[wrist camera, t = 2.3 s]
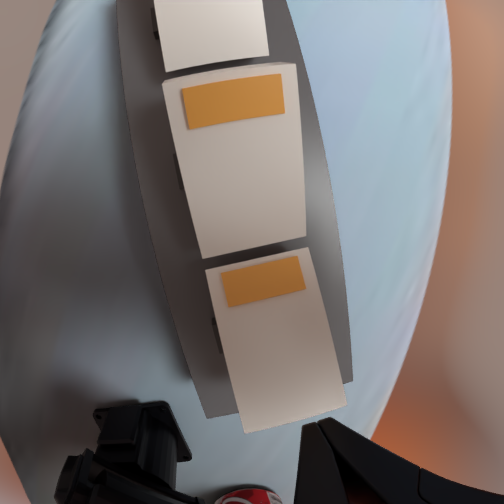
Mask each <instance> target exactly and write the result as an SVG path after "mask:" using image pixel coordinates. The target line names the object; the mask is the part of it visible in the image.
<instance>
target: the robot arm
mask: <svg viewBox="0 0 504 504" xmlns="http://www.w3.org/2000/svg"><path fill="white" fill-rule="evenodd" d="M161 408H165V409H166V410H163V409H161ZM97 414H98V415H97ZM99 415H100V416H99ZM93 417H94V419H95V421H96V423H97V425H98V426H99V428H100V430H101V432H100V435H99V437H98V440H97V444H98V447H97V450H96V452H95V454H94V452H93V451H91V450H89V449H88V448H86V449H85V451H84V453H83V454H82V455H81V454H80V455H78V456H68V458H67V459H66V462H65V464H64V466H63V469H62V471H61V474H60V476H59V479H58V483H57V486H56V490H55V494H54V499H55V501H56V503H57V504H205V502H204V500H203V499H201V498H198V497H195V498H194V497H191V496H188V495H186V494H183V493H180V492H177V491H175V488H176V469H177V462H186V461H190V460H191V459H192V453H191V451H190V449H189V447H188V445H187V443H186V441H185V439H184V437H183V435H182V432H181V430H180V428H179V426H178V424H177V421H176V419H175V417H174V415H173V412H172V410H171V408H170V406H169V404H167V403H165V402H160V403H152V404H144V405H131V406H122V407H111V408H106V409H96V410H95V411H94V413H93ZM294 504H504V495H501V494H496V493H492V492H488V491H484V490H480V489H477V488H473V487H469V486H466V485H462V484H460V483H457V482H454V481H451V480H448V479H445V478H443V477H441V476H438V475H436V474H434V473H432V472H430V471H428V470H425V469H423V468H421V469H420V467H419V466H417V465H415V464H413V463H411V462H409V461H408V460H406V459H404V458H402V457H400V456H398V455H396V454H394V453H392V452H391V451H389V450H387V449H385V448H383V447H381V446H380V445H378V444H376V443H374V442H373V441H371V440H369V439H367V438H365V437H364V436H362V435H360V434H359V433H357V432H355V431H353V430H352V429H350V428H348V427H347V426H345V425H343V424H342V423H340V422H338V421H337V420H335V419H333V418H331V417H328V418H325V419H322V420H319V421H318V422H317V423H316V422H312V423H309V424H305V425H303V426H302V431H301V442H300V452H299V462H298V471H297V480H296V488H295V496H294Z"/></svg>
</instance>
